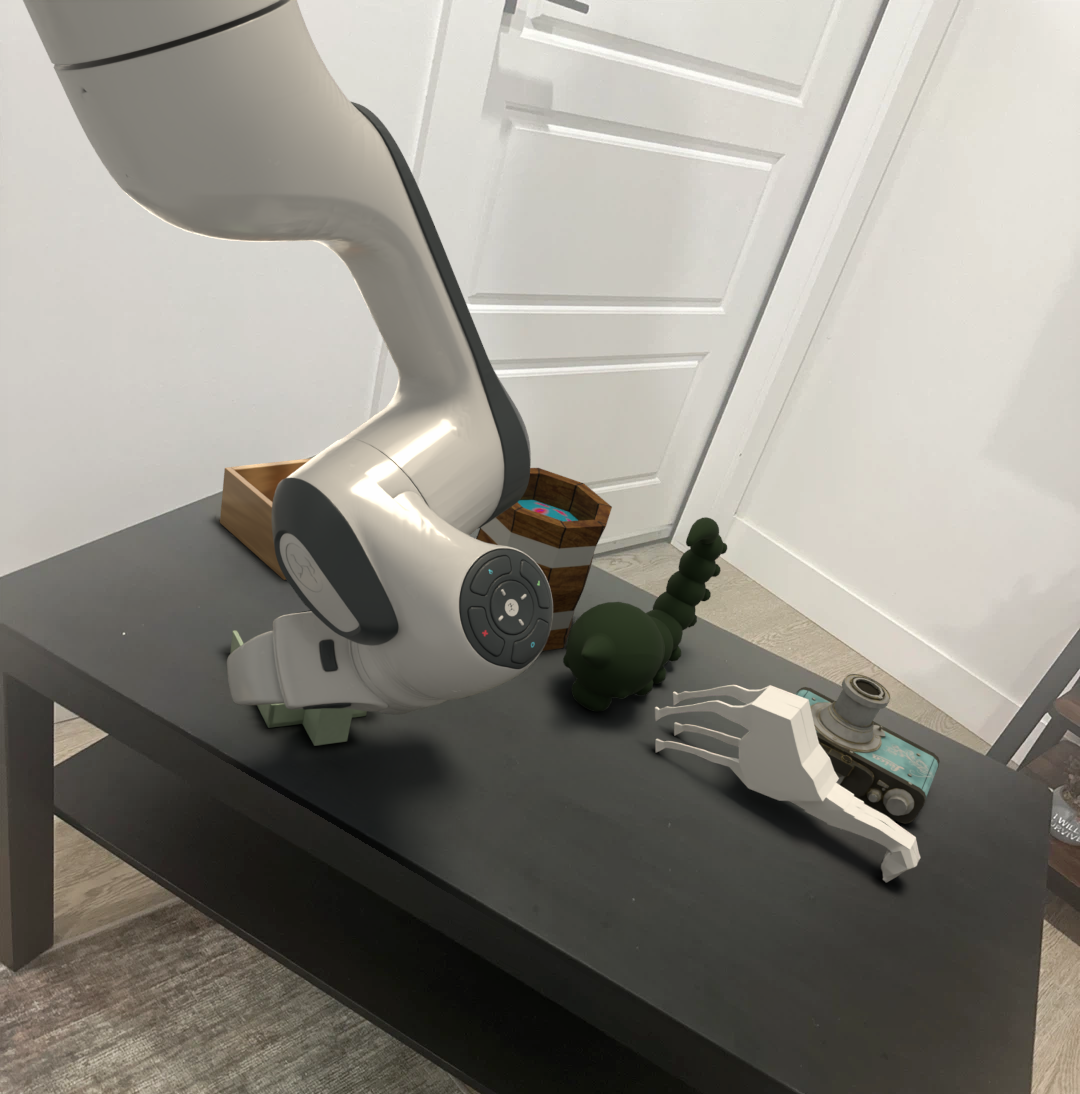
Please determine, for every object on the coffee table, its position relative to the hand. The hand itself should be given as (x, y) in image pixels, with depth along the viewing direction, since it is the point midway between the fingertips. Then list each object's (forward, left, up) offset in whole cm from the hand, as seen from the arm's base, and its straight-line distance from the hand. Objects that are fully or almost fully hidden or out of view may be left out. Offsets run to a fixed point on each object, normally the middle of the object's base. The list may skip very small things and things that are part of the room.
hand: (331, 678), depth 82 cm
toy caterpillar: (+33, -8, -6) cm, 34 cm away
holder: (+17, +28, -5) cm, 33 cm away
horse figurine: (+32, -29, -6) cm, 43 cm away
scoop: (+1, +5, -5) cm, 7 cm away
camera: (+45, -30, -6) cm, 54 cm away
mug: (+30, +9, -6) cm, 32 cm away
